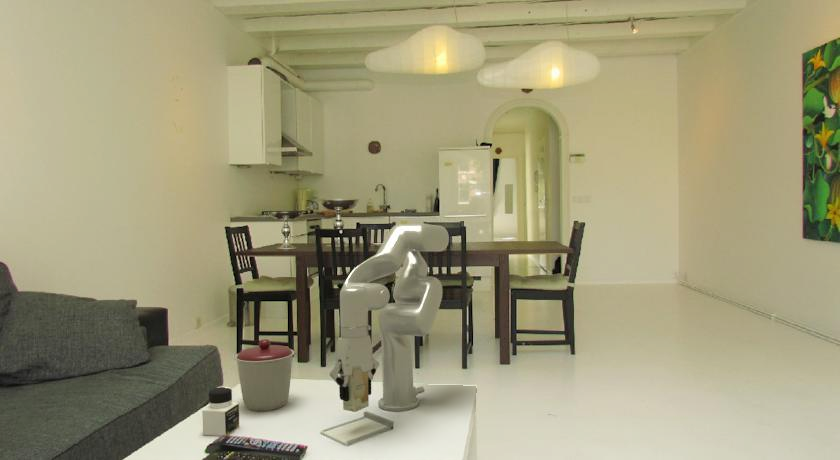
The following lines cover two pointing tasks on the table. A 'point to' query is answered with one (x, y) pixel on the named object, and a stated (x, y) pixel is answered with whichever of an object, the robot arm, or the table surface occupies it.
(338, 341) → the robot arm
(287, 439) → the table surface
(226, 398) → the medicine bottle
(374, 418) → the mat
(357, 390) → the skincare box
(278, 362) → the canister
